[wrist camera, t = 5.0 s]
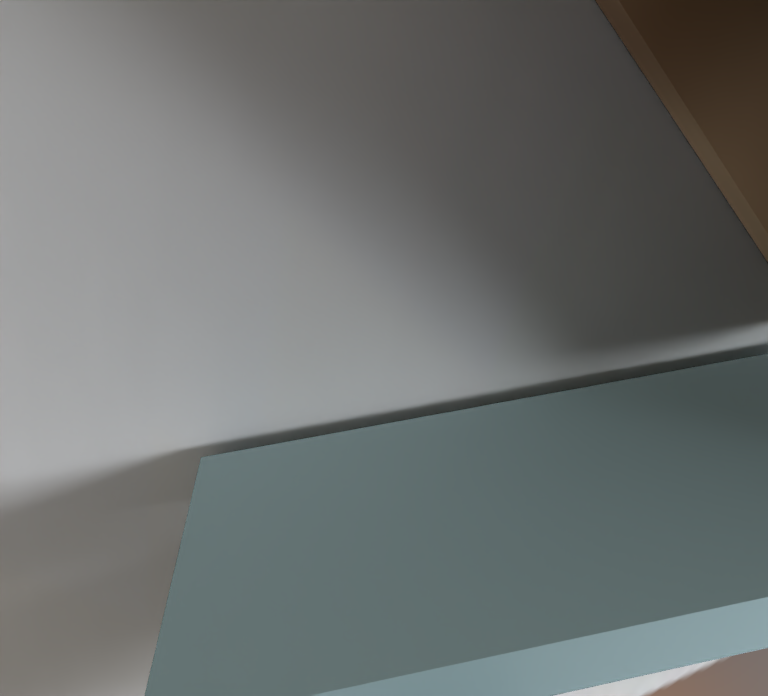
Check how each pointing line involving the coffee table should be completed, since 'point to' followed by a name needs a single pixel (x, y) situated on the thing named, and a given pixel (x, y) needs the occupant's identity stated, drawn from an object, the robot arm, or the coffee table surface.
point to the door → (482, 547)
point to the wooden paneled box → (710, 87)
